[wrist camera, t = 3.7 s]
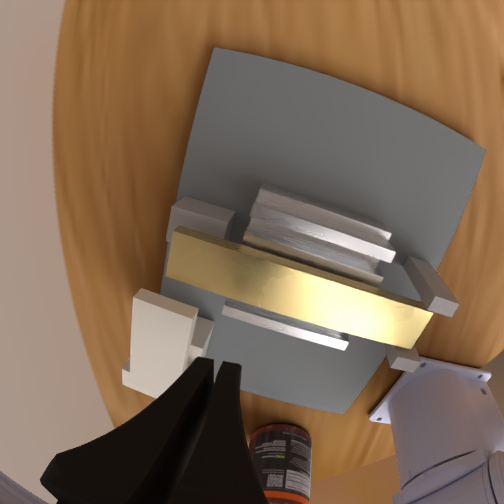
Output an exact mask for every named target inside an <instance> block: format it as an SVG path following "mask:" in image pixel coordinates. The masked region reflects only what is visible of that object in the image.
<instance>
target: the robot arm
mask: <svg viewBox="0 0 504 504" xmlns="http://www.w3.org/2000/svg"><path fill="white" fill-rule="evenodd" d="M420 360H421V363H420V365H419V366H418V368H417V369H416V370H415V372H414V373H412V372H407V371H404V373H403V374H402V375H401V377H400V378H399V379H398V380H397V382H396V383H395V384H394V386H393V387H392V388H391V389H390V391H389V392H388V393H387V394H386V396H385V397H384V398H383V399H382V401H381V402H380V403H379V404H378V405H377V407H376V408H375V409H374V410H373V411H372V413H371V414H370V415H369V420H370V421H373V422H380V423H388V424H391V427H392V433H393V439H394V445H395V451H396V457H397V465H398V472H399V479H400V487H401V491H400V492H399V493H397V494H395V495H393V504H504V421H503V418H502V416H501V414H500V412H499V409H498V407H497V405H496V402H495V400H494V398H493V396H492V394H491V392H490V390H489V388H488V386H487V384H486V382H487V381H488V380H489V378H490V377H491V373H490V371H486V370H481V369H476V368H471V367H466V366H461V365H457V364H452V363H447V362H443V361H438V360H434V359H429V358H425V357H420ZM422 363H424V364H422ZM241 372H242V366H241V365H240V364H238V363H232V362H227V361H223V362H222V364H221V366H220V368H219V371H218V373H217V376H216V380H215V384H214V359H210V358H205V357H200V356H198V357H196V358H195V359H194V360H193V362H192V363H191V364H190V365H189V366H188V368H187V369H186V370H185V371H184V372H183V373H182V374H181V375H180V376H179V378H178V379H177V380H176V381H175V382H174V383H173V384H172V385H171V386H170V387H169V388H168V389H167V390H166V391H165V392H163V393H162V394H161V395H160V396H159V397H158V398H157V399H156V400H154V401H153V402H152V403H151V404H150V405H149V406H147V407H146V408H145V409H144V410H142V411H141V412H140V413H138V414H137V415H136V416H134V417H133V418H131V419H130V420H128V421H127V422H125V423H124V424H122V425H121V426H119V427H117V428H116V429H114V430H112V431H111V432H109V433H107V434H105V435H103V436H101V437H99V438H97V439H95V440H92V441H91V442H88V443H86V444H84V445H81V446H79V447H76V448H73V449H70V450H67V451H64V452H61V453H58V454H56V456H55V457H54V458H53V459H52V461H51V462H50V464H49V465H48V467H47V468H46V470H45V472H44V474H43V475H42V477H41V478H40V482H41V484H42V485H43V486H44V487H45V488H46V489H47V490H48V491H49V492H50V493H51V494H52V495H53V496H54V497H55V498H56V499H57V500H58V502H57V503H56V504H269V502H268V500H267V498H266V496H265V494H264V491H263V489H262V487H261V484H260V482H259V479H258V476H257V474H256V471H255V468H254V465H253V462H252V459H251V456H250V453H249V449H248V445H247V441H246V437H245V432H244V427H243V422H242V415H241V407H240V384H241ZM0 504H48V503H47V502H45V501H43V500H42V499H40V498H39V497H37V496H35V495H33V494H32V493H31V492H29V491H28V490H26V489H25V488H23V487H22V486H20V485H19V484H17V483H16V482H15V481H13V480H12V479H10V478H9V477H8V476H6V475H5V474H4V473H2V472H1V471H0Z"/></svg>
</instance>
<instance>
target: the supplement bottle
mask: <svg viewBox="0 0 504 504" xmlns="http://www.w3.org/2000/svg"><path fill="white" fill-rule="evenodd" d="M311 451H312V446H311V437H310V435H309V434H308V433H307V432H306V431H305V430H303V429H301V428H299V427H297V426H293V425H287V424H272V425H267V426H263V427H261V428H259V429H258V430H256V431H255V432H254V433H253V434H252V436H251V440H250V444H249V453H250V456H251V459H252V462H253V465H254V468H255V471H256V474H257V476H258V479H259V482H260V484H261V487H262V489H263V491H264V494H265V496H266V498H267V500H268V502H269V504H309V497H310V479H311Z"/></svg>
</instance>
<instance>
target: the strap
mask: <svg viewBox="0 0 504 504" xmlns="http://www.w3.org/2000/svg"><path fill="white" fill-rule="evenodd" d="M166 277H169V278H172V279H175V280H178V281H181V282H183V283H186V284H189V285H192V286H195V287H198V288H201V289H204V290H207V291H210V292H213V293H216V294H219V295H222V296H225V297H228V298H231V299H235V300H238V301H241V302H244V303H247V304H250V305H253V306H257V307H260V308H263V309H266V310H270V311H273V312H276V313H279V314H283V315H286V316H289V317H293V318H296V319H299V320H303V321H306V322H310V323H313V324H317V325H320V326H324V327H327V328H331V329H334V330H338V331H342V332H345V333H349V334H353V335H356V336H360V337H364V338H368V339H371V340H375V341H379V342H383V343H387V344H391V345H395V346H399V347H403V348H407V349H411V348H412V346H413V345H414V343H415V342H416V340H417V339H418V337H419V336H420V334H421V333H422V331H423V330H424V328H425V326H426V325H427V323H428V322H429V320H430V318H431V317H432V315H433V312H432V311H429V310H427V308H426V306H425V305H424V303H422V302H419V301H416V300H413V299H410V298H407V297H404V296H401V295H397V294H394V293H391V292H388V291H385V290H382V289H379V288H376V287H373V286H369V285H366V284H363V283H360V282H357V281H354V280H351V279H348V278H344V277H341V276H338V275H335V274H332V273H329V272H326V271H322V270H319V269H316V268H313V267H310V266H307V265H304V264H301V263H297V262H294V261H291V260H288V259H285V258H282V257H279V256H275V255H272V254H269V253H266V252H263V251H260V250H256V249H253V248H250V247H247V246H244V245H241V244H237V243H234V242H231V241H228V240H225V239H222V238H219V237H215V236H212V235H209V234H206V233H203V232H199V231H196V230H193V229H190V228H187V227H184V226H180V225H179V226H178V227H177V228H176V229H175V230H174V231H173V235H172V240H171V246H170V252H169V258H168V264H167V270H166Z"/></svg>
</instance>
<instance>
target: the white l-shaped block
mask: <svg viewBox="0 0 504 504" xmlns="http://www.w3.org/2000/svg"><path fill="white" fill-rule="evenodd" d="M198 309H199V308H196V307H193V306H190V305H187V304H184V303H182V302H179V301H176V300H173V299H170V298H168V297H165V296H162V295H159V294H157V293H154V292H151V291H149V290H146V289H143V288H141V289H140V290H139V291H138V292H137V293H136V295H135V296H134V297H133V308H132V325H131V349H130V358H129V360H128V361H127V363H126V364H125V366H124V367H123V369H122V376H123V385H125V386H127V387H130V388H132V389H134V390H137V391H139V392H142V393H144V394H146V395H149V396H151V397H154V398H156V399H157V398H158V397H159V396H160V395H161V394H162V393H163V392H165V391H166V390H167V389H168V388H169V387H170V386H171V385H172V384H173V383H174V382H175V381H176V380H177V379H178V378H179V376H180V375H181V374H182V373H183V372H184V371H185V370H186V369H187V368H188V366H189V365H190V364H191V363H192V362H193V360H194V359H195V358H196V357H198V356H200V357H205V355H206V352H207V348H208V344H209V341H210V337H211V333H212V329H213V326H214V321H211V320H208V319H205V318H202V317H199V316H197V314H198Z"/></svg>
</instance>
